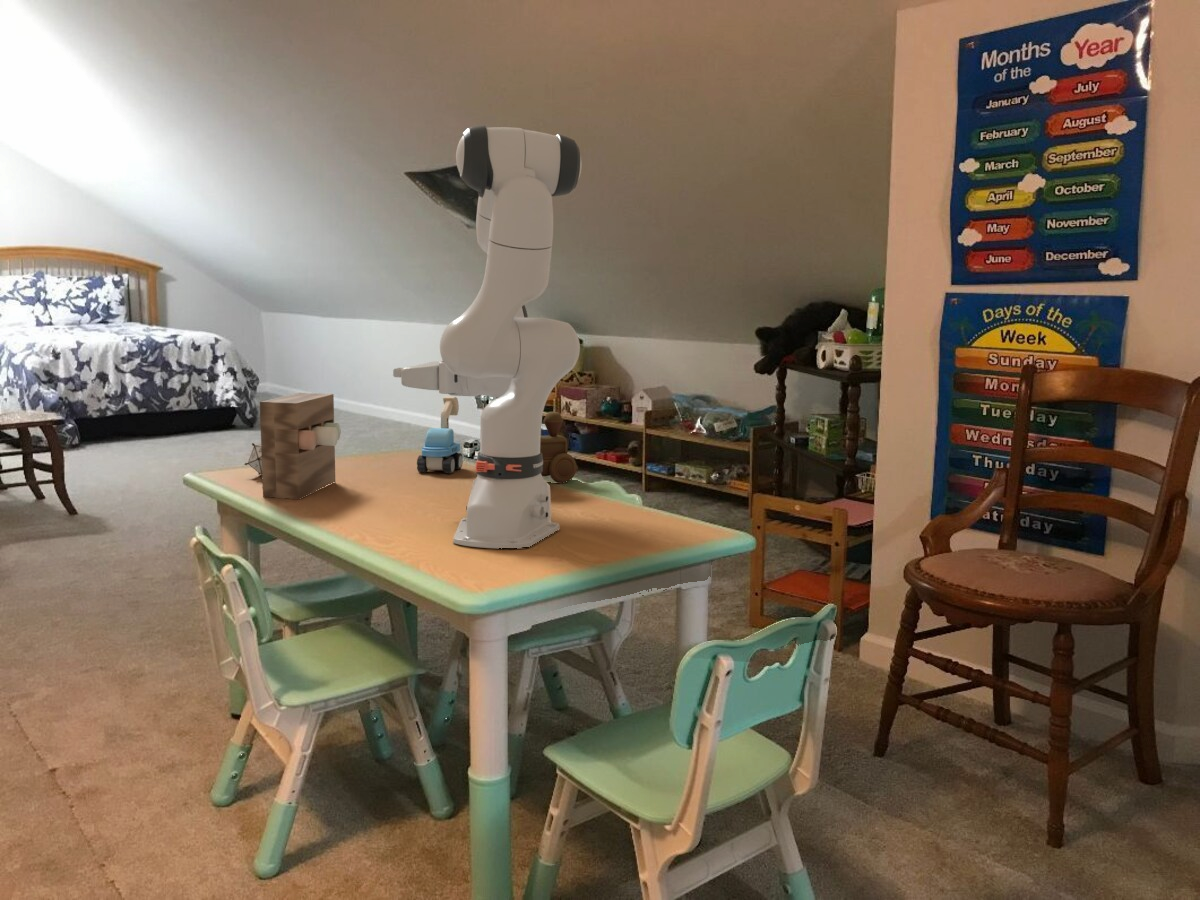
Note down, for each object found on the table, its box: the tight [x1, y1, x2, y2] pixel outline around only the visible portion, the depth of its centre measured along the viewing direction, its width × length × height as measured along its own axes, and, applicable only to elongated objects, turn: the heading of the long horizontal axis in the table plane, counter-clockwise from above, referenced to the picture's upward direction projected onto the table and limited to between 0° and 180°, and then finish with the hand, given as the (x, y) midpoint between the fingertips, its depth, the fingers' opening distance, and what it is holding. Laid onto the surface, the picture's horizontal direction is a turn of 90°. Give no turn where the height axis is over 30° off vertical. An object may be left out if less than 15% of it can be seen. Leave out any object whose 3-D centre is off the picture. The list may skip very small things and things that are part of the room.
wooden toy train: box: [540, 411, 579, 484], centre depth 226 cm, size 20×11×17 cm, turn 120°
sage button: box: [323, 422, 342, 441], centre depth 216 cm, size 6×4×4 cm, turn 81°
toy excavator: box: [416, 396, 464, 474], centre depth 239 cm, size 9×17×17 cm, turn 170°
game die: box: [243, 442, 262, 479], centre depth 226 cm, size 9×8×10 cm
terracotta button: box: [298, 430, 317, 450], centre depth 204 cm, size 6×4×4 cm, turn 81°
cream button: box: [311, 426, 339, 447], centre depth 210 cm, size 6×4×4 cm, turn 81°
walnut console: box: [259, 392, 336, 500], centre depth 211 cm, size 8×18×20 cm, turn 171°
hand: (395, 372), depth 207 cm, fingers closed
